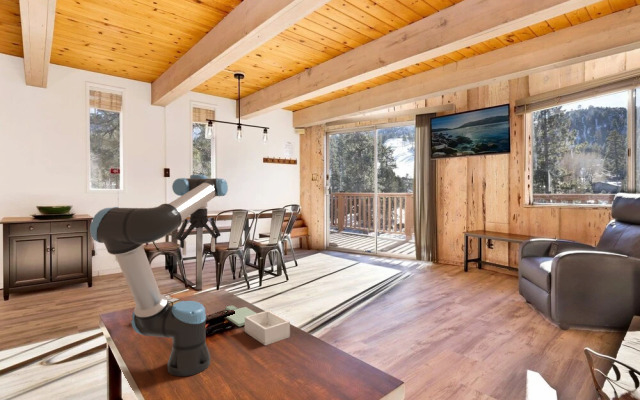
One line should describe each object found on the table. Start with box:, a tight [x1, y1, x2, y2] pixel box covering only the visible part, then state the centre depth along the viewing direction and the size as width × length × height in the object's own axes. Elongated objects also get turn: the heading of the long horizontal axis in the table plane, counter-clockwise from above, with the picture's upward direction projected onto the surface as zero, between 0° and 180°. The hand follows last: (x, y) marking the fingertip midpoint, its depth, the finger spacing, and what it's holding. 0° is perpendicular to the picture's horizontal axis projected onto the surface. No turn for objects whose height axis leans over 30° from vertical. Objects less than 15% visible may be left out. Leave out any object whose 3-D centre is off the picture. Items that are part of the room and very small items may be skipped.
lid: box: [225, 304, 257, 327], centre depth 174 cm, size 25×14×2 cm, turn 41°
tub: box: [244, 310, 291, 346], centre depth 154 cm, size 18×13×7 cm
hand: (199, 253), depth 156 cm, fingers open, 13 cm apart
